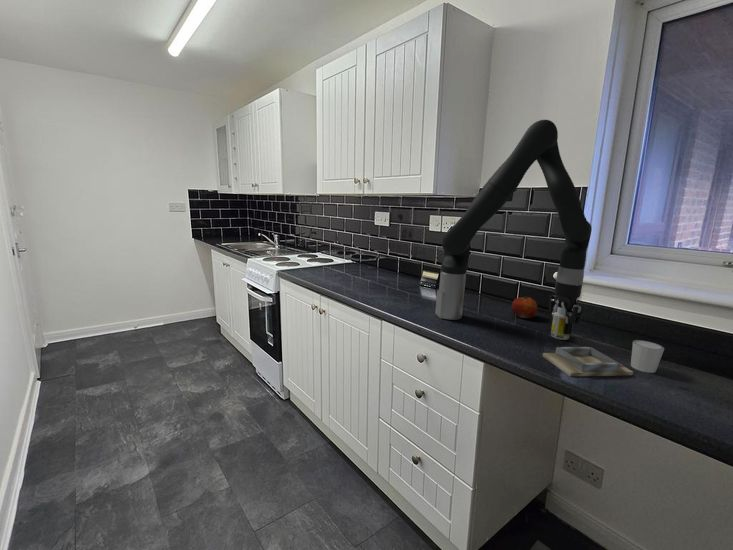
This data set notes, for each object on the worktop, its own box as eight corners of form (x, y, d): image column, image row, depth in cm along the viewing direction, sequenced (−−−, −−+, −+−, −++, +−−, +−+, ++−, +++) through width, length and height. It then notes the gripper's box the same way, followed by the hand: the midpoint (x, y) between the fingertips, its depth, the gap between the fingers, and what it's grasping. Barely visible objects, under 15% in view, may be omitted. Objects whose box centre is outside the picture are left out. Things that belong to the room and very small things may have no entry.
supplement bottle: (572, 339, 119) (578, 309, 116) (561, 341, 116) (566, 311, 114) (557, 333, 123) (562, 304, 121) (546, 335, 121) (551, 306, 119)
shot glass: (622, 362, 103) (626, 339, 101) (644, 362, 103) (649, 339, 102) (641, 374, 96) (647, 349, 94) (665, 374, 97) (671, 349, 95)
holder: (569, 376, 93) (571, 365, 92) (542, 356, 104) (544, 346, 104) (632, 375, 95) (634, 364, 94) (598, 355, 107) (600, 346, 106)
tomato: (538, 321, 135) (541, 301, 133) (512, 319, 136) (515, 299, 135) (532, 314, 144) (535, 295, 142) (508, 311, 145) (511, 292, 144)
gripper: (545, 276, 122) (537, 322, 126) (573, 286, 108) (564, 339, 112) (565, 276, 123) (557, 322, 127) (596, 287, 109) (586, 338, 113)
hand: (560, 330), depth 119 cm, fingers closed on supplement bottle, 5 cm apart
